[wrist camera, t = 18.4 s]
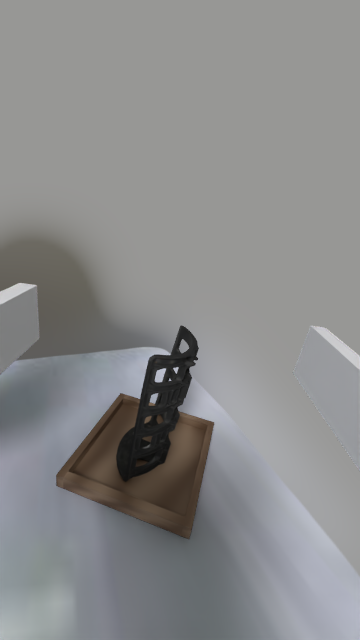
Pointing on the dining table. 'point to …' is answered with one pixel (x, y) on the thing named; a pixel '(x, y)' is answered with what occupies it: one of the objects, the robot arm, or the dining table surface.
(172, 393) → the holder
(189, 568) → the dining table surface
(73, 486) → the tray
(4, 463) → the dining table surface
